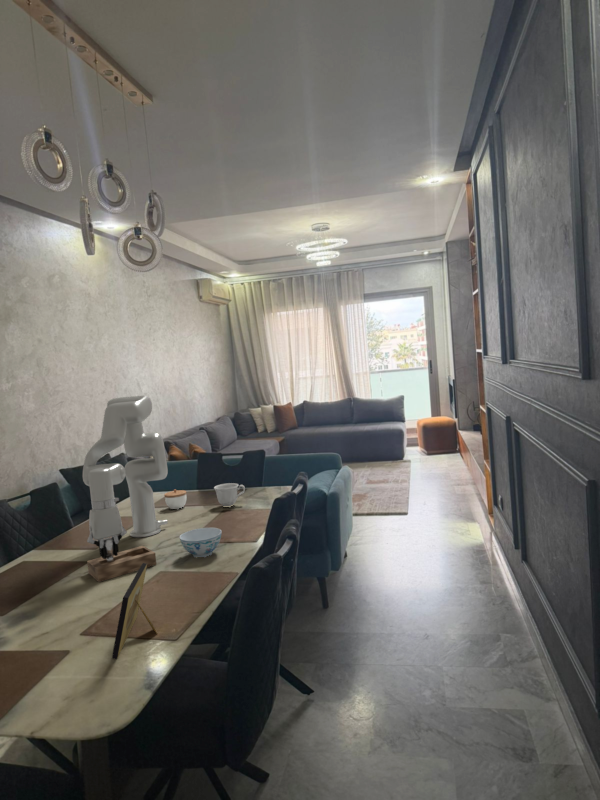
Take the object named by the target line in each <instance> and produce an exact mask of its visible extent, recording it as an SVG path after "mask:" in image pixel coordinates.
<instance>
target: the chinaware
mask: <svg viewBox="0 0 600 800" xmlns="http://www.w3.org/2000/svg"><path fill="white" fill-rule="evenodd" d="M221 538H222V529H220V528H217V527H201V528H200V527H199V528H195V529H191V530H188V531H186V532H183V533H182V534H180V535H179V541H180V543H181V545H182V547H183V548H184V550H185V551H187V552H188V553H189V554H192V556H193V557H194V558H195V557H204V558H207V557H206V556H208V557H210V556H212V555H213V551H214V550H216V549H217V547H218V546H219V544H220V541H221ZM209 555H210V556H209Z"/></svg>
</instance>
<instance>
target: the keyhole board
mask: <svg viewBox="0 0 600 800" xmlns="http://www.w3.org/2000/svg"><path fill="white" fill-rule="evenodd" d="M117 554H118V555H117V556H115V555H114V556H113V559H114V561H110V562H107V558H106V559H103V558H102V557H101V556H100V557H96V558H94V559H90V560H86V563H87V572H88V574H89V575H90V576H91V577H92V578H94V580H95V581H97V582H98V583H100V582H103V581H107V580H111V579H113V578H117V577H120V576H124V575H126V574H131V573H134V572H138V570H139V569H140V567H141V565H142V564H143V563H147V568H151V567H153V565H154V566H156V564H157V558H156V552H155V551H153V550H151V549H149V548H148V547H146V546H144V545H139V546H136V547H133V548H128V549H126V550H122V551H119V552H117ZM150 566H151V567H150Z"/></svg>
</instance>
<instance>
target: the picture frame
mask: <svg viewBox="0 0 600 800" xmlns="http://www.w3.org/2000/svg"><path fill="white" fill-rule="evenodd" d="M147 568H148V567H147V563H143V564H142V565H141V567H140V569H139V570H137V571H136V574H135V575H134V577H133V579H132V581H131V583H130V584H129V586H128V588H127V590H126V592H125V593H124V595H123V596H122V600H121V601H122V602H121V606H120V612H119V617H118V622H117V629H116V634H115V639H114V643H113V644H114V645H113V649H112V655H111V659H112V660H118V658H119V656H120V653H121V652H122V650H123V648H124V646H125V643H126V641H127V639H128V637H129V635H130V634H131V630H132V629H131V628H133V626H134V624H135V622H136V619H137V618H138V615H139V611H141V612H142V614H143V615H144V618H145V619H146V621H147V623H148V624H149V625H150V627H151V629H152V630H153V631H154V632H155V634H156V635H158V632H157V630H156V629H155V627H154V625H153V623H152V622H151V620H150V619H149V617H148V616H147V614H146V612H145V611H144V610H143V608H142V607H141V600H142V599H141V598H142V595H143V589H144V582H145V578H146V572H147ZM139 609H140V610H139Z"/></svg>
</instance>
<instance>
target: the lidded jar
mask: <svg viewBox="0 0 600 800" xmlns="http://www.w3.org/2000/svg"><path fill="white" fill-rule="evenodd" d="M163 496H164V500H165V504H166V506H167V507H168V508H169V509H170V510H171V509H177V510H180V509H179V508H181V509H183V508H184V506H185V505H186V503H187V499H188V498H187V491H186V490H184V489H182V490H180V489H179V490H177V489H176V488H175V489H173V490H172V491H168V492H166V493H164V495H163ZM182 507H183V508H182Z"/></svg>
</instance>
